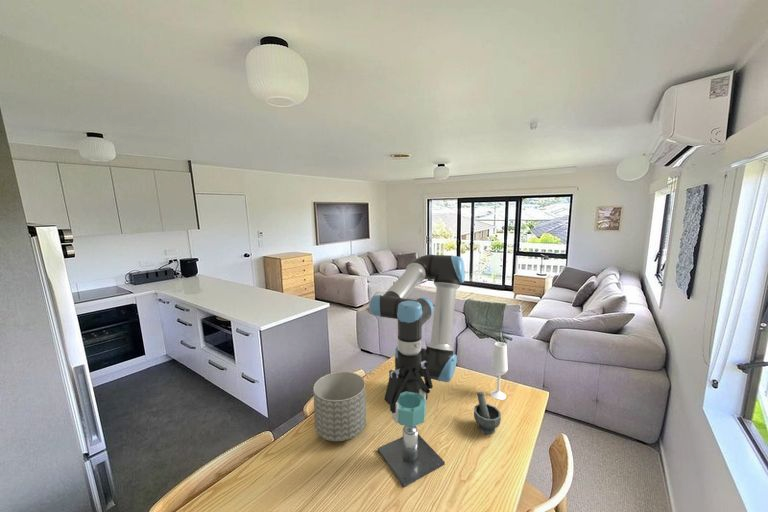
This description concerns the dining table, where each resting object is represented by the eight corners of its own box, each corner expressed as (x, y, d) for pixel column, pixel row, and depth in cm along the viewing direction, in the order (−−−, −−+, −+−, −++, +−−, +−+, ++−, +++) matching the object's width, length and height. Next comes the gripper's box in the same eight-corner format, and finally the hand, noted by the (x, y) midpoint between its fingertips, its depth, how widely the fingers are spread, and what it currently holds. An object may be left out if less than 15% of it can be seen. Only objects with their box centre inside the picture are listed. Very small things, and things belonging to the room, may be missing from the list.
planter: (373, 418, 117) (372, 376, 114) (353, 455, 99) (352, 405, 96) (331, 408, 123) (329, 368, 120) (304, 441, 105) (302, 394, 103)
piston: (377, 450, 101) (377, 422, 99) (415, 433, 109) (415, 406, 107) (403, 487, 87) (403, 454, 86) (444, 464, 95) (445, 434, 94)
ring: (388, 411, 98) (388, 397, 97) (412, 402, 103) (413, 388, 102) (404, 430, 89) (405, 415, 88) (431, 419, 94) (431, 404, 93)
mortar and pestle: (505, 435, 107) (507, 405, 106) (482, 440, 105) (484, 409, 104) (487, 415, 118) (489, 387, 117) (466, 419, 116) (467, 391, 114)
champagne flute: (507, 393, 133) (510, 343, 129) (504, 401, 127) (507, 349, 124) (492, 389, 136) (494, 339, 133) (488, 396, 131) (490, 345, 127)
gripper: (384, 364, 84) (385, 434, 87) (444, 346, 95) (443, 409, 98) (372, 354, 90) (373, 419, 93) (430, 338, 101) (429, 397, 105)
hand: (409, 414), depth 96 cm, fingers closed on ring, 10 cm apart
